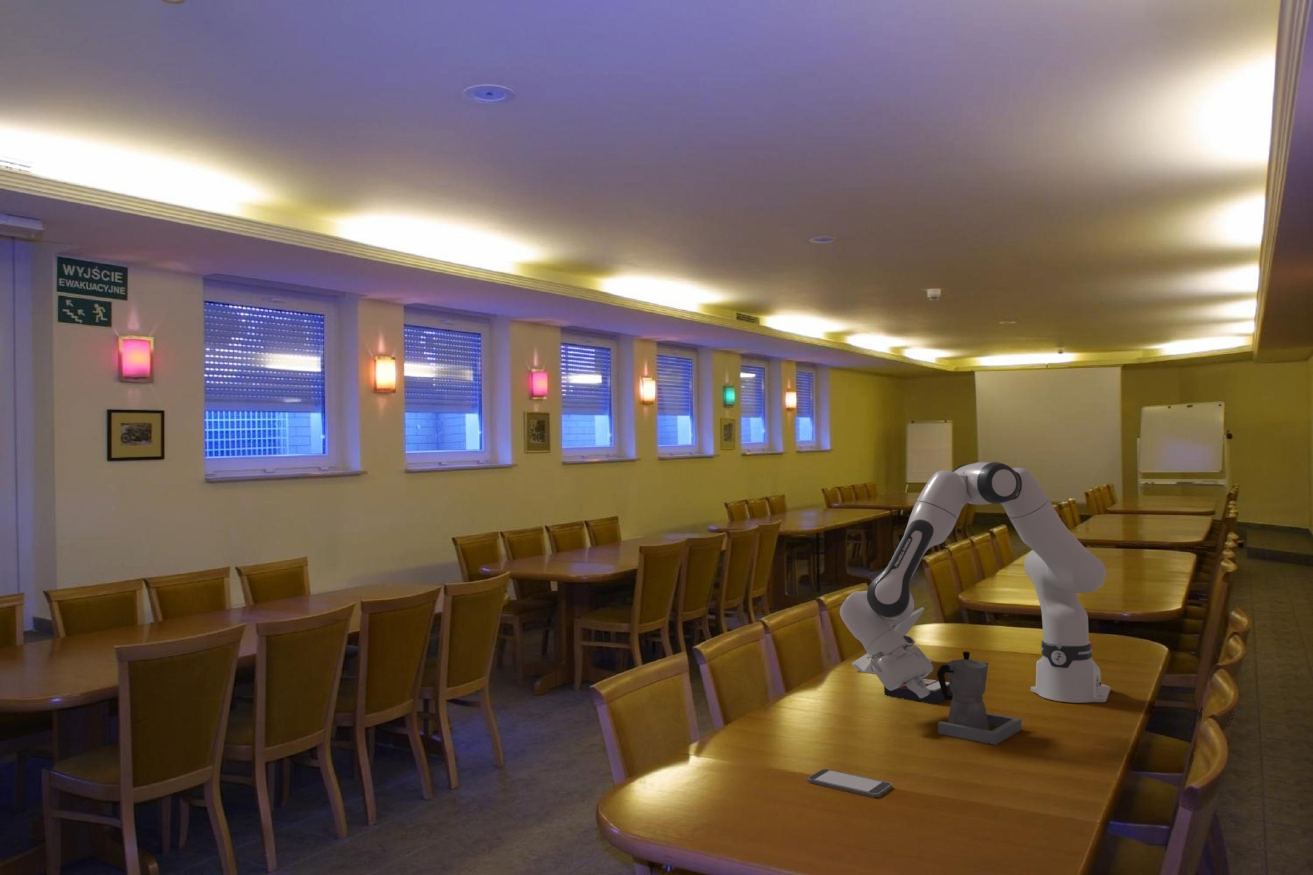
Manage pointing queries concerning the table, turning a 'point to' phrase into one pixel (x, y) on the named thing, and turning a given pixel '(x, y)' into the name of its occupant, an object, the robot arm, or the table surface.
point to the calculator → (906, 693)
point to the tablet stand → (901, 628)
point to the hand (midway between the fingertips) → (925, 695)
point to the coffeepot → (965, 691)
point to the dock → (1004, 730)
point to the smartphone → (850, 782)
